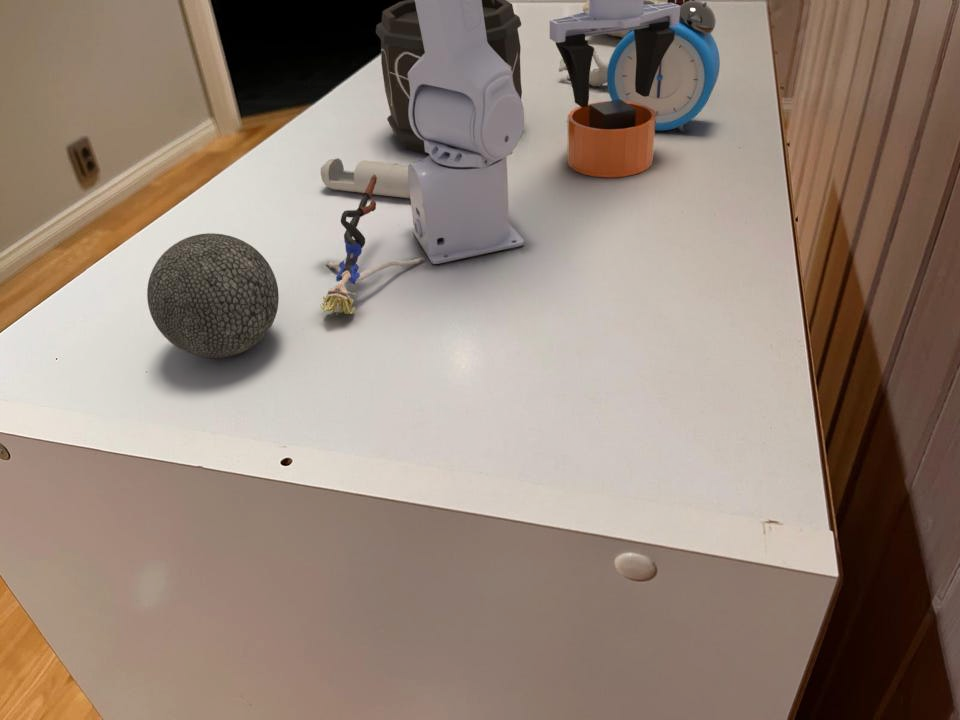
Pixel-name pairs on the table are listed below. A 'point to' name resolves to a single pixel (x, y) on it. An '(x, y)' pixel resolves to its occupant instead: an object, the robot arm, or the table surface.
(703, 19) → the alarm clock
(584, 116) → the cup
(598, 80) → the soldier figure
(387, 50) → the wooden barrel
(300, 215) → the table surface
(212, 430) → the table surface
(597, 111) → the block
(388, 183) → the white notched cylinder
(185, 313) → the decorative ball
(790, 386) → the table surface
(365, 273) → the figurine
